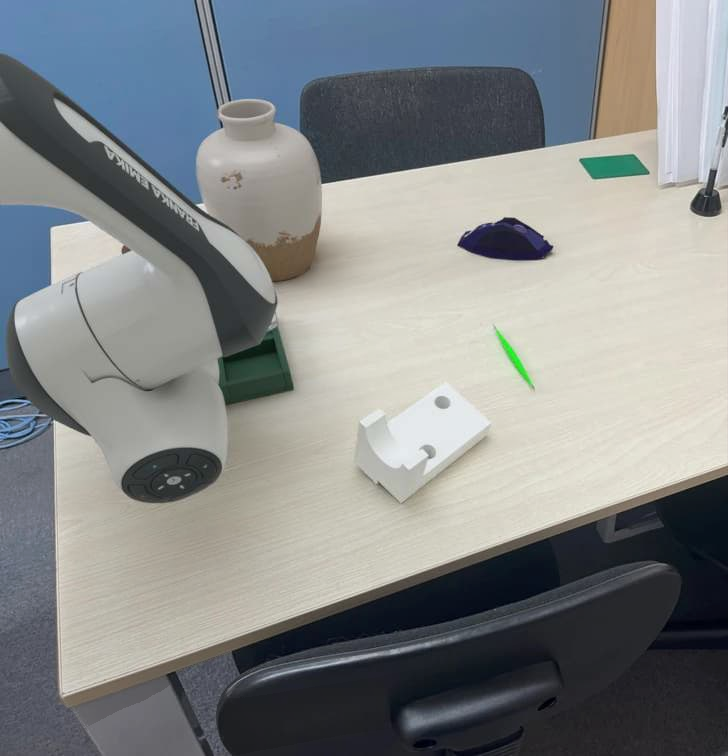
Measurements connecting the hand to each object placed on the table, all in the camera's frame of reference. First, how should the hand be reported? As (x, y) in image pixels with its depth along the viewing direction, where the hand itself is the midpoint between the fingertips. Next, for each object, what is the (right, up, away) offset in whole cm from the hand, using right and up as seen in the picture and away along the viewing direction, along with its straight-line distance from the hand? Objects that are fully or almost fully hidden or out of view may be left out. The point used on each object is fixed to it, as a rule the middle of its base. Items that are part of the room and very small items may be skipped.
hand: (157, 275), depth 74 cm
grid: (+1, -9, +13) cm, 16 cm away
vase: (+3, +6, +31) cm, 32 cm away
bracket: (+28, -19, +3) cm, 34 cm away
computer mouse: (+36, +10, +37) cm, 53 cm away
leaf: (+37, -8, +16) cm, 41 cm away
